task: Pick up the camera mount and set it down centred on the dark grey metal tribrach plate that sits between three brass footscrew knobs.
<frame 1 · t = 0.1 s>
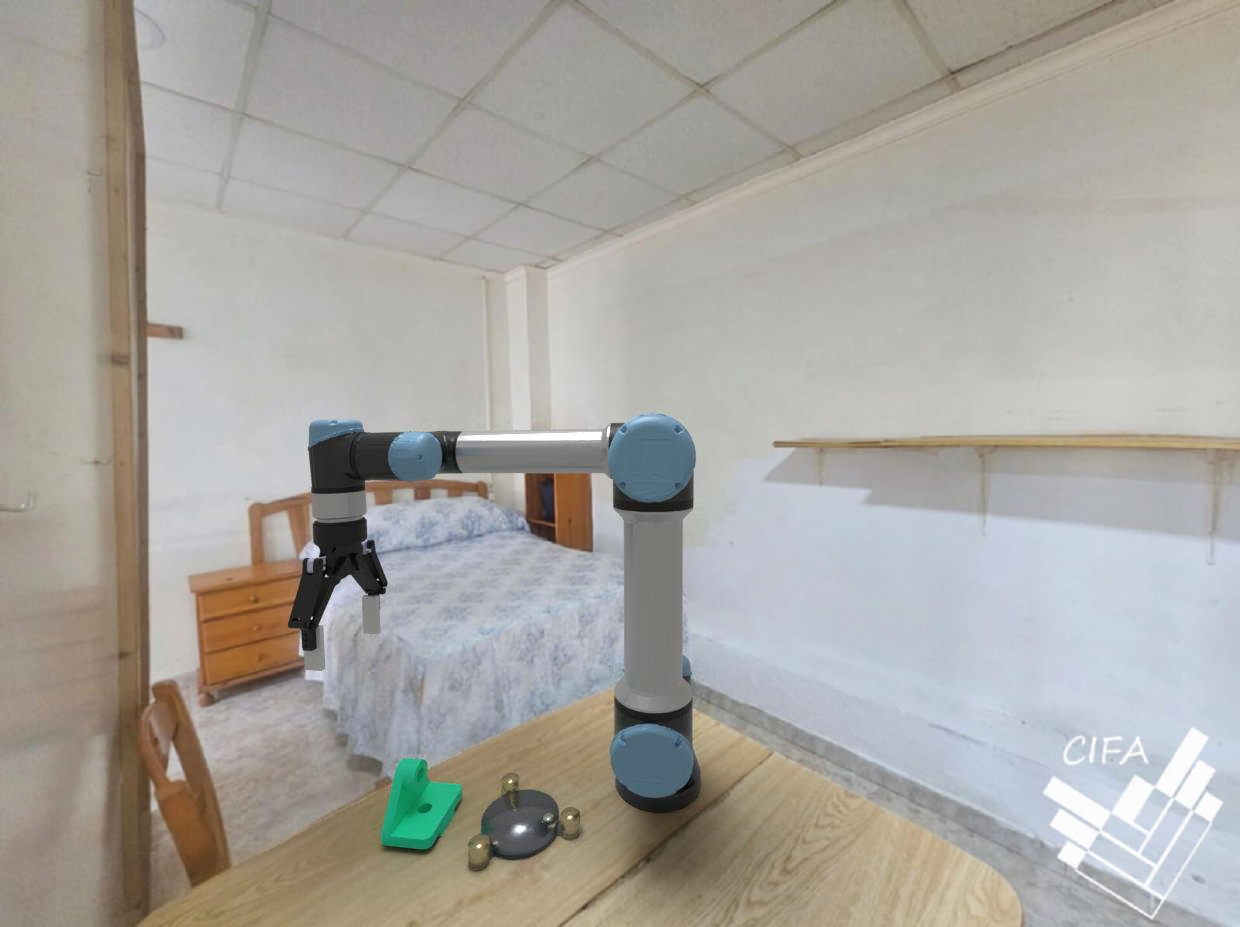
hand: (345, 649, 83), 28 cm above the table, fingers open, 13 cm apart
camera mount: (425, 824, 83), on the table
tribrach plate: (520, 828, 81), on the table
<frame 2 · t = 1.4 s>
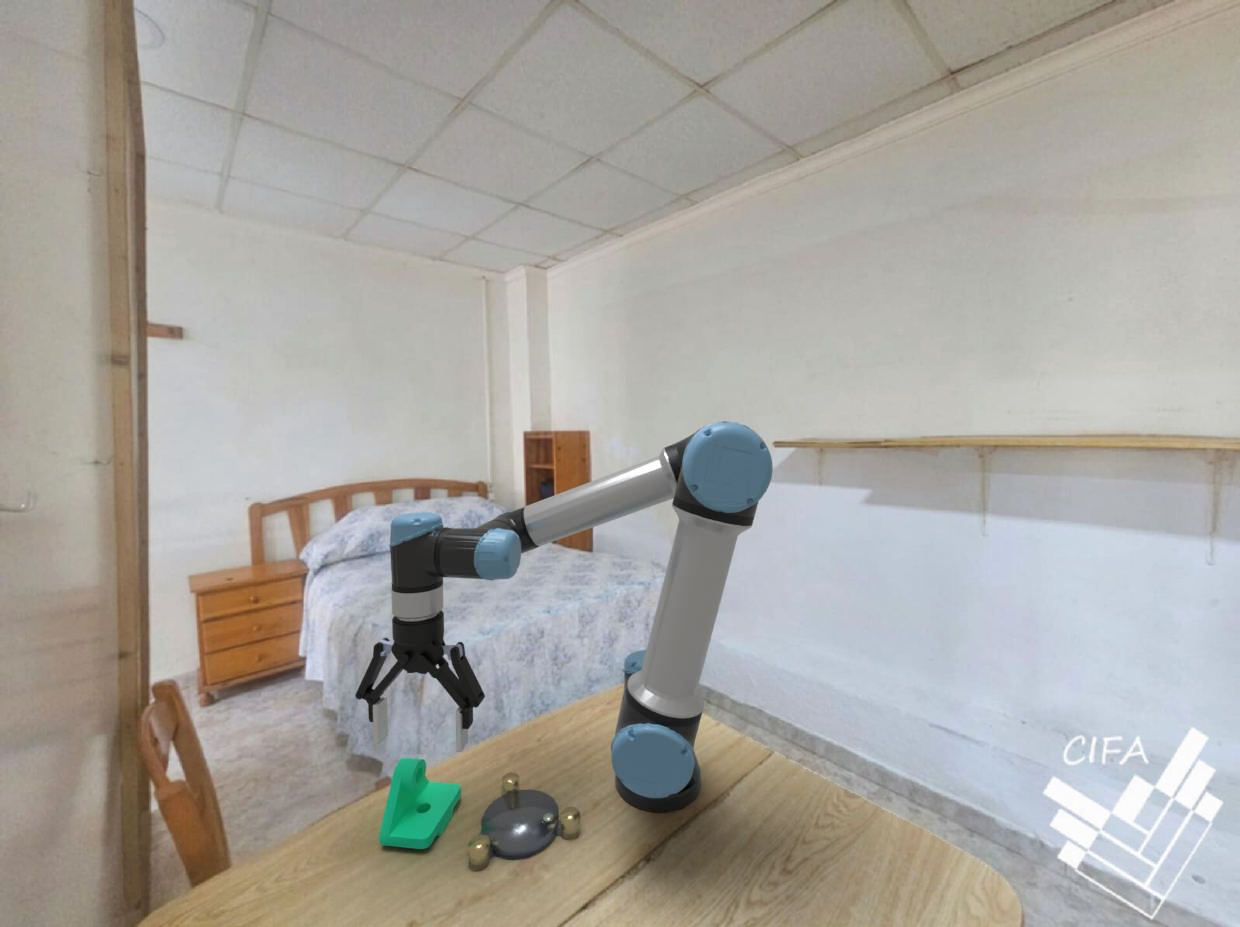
hand: (421, 743, 82), 13 cm above the table, fingers open, 13 cm apart
nothing on the table moved.
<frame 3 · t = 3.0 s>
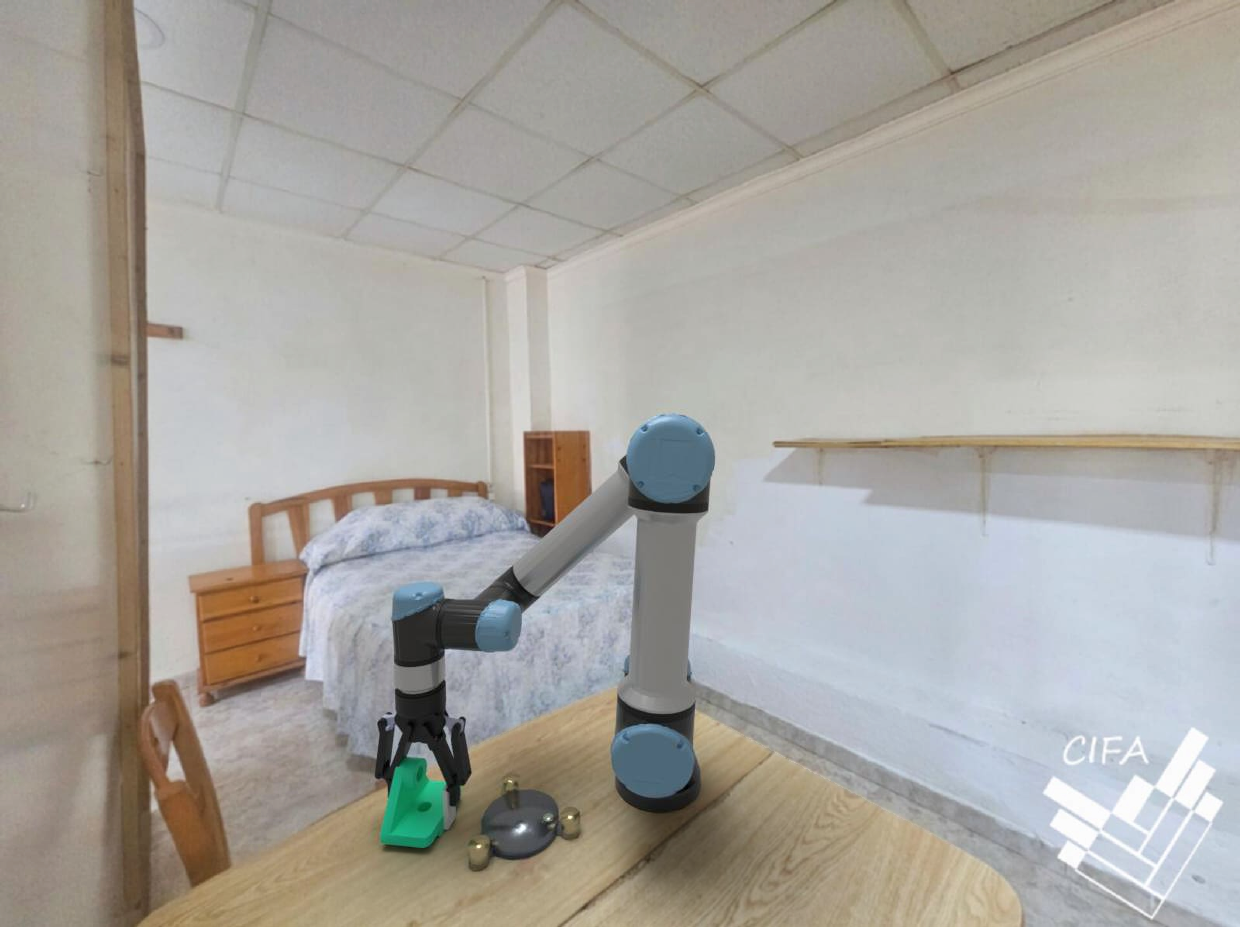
hand: (424, 820, 83), 0 cm above the table, fingers closed on camera mount, 8 cm apart
camera mount: (425, 823, 83), on the table, touching gripper
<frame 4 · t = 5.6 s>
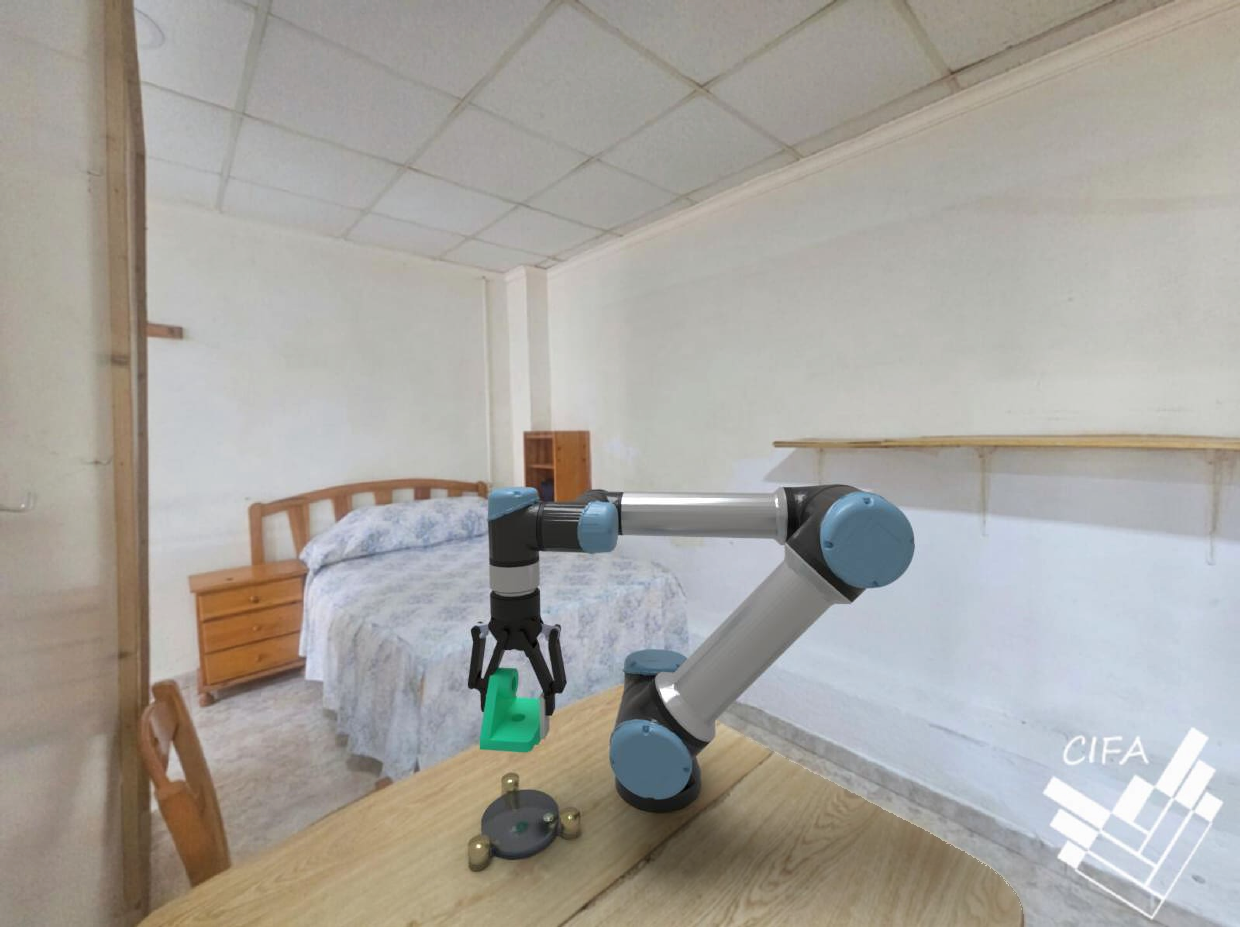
hand: (518, 732, 80), 16 cm above the table, fingers closed on camera mount, 8 cm apart
camera mount: (518, 735, 80), point 15 cm above the table, touching gripper
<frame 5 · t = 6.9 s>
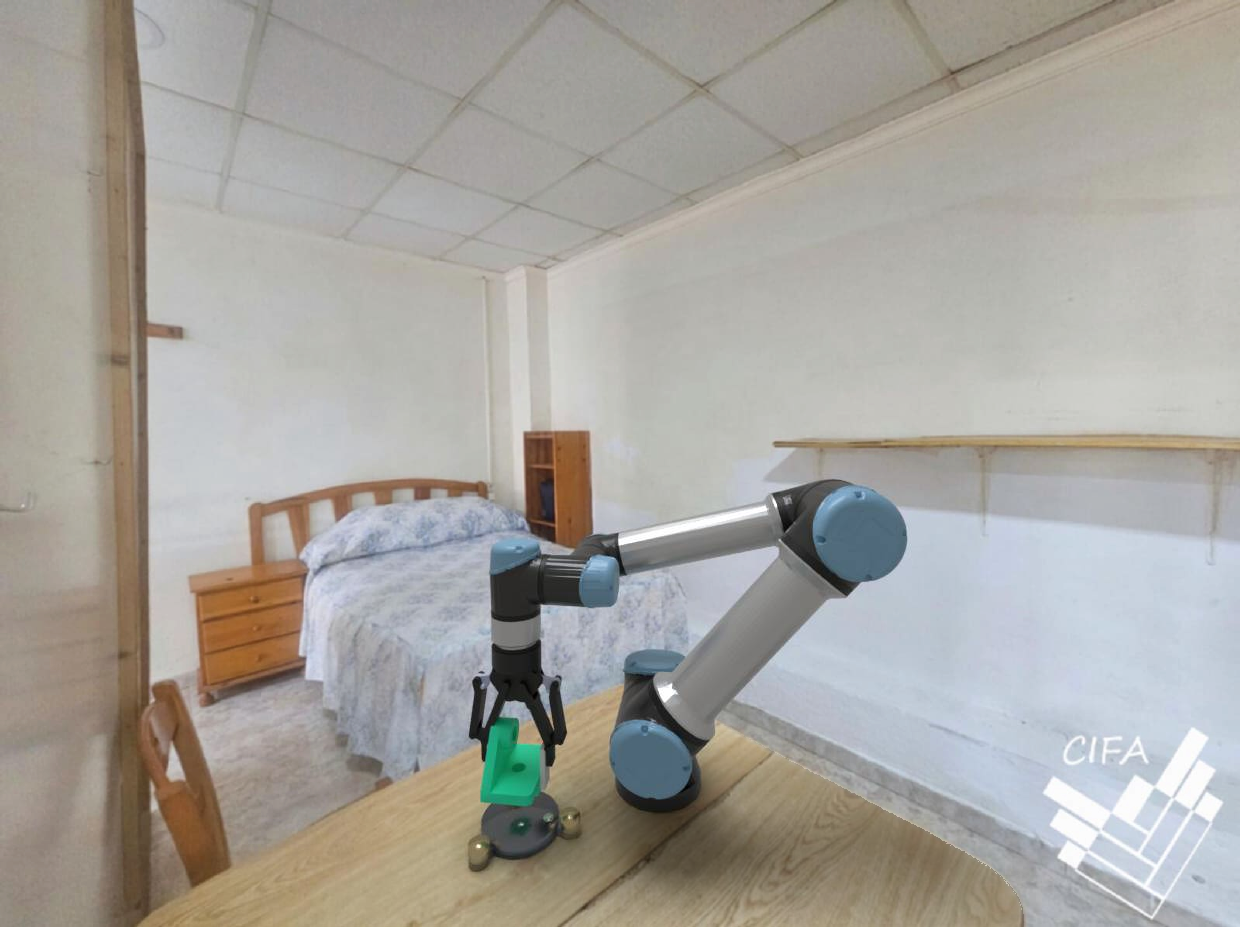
hand: (518, 781, 81), 8 cm above the table, fingers closed on camera mount, 8 cm apart
camera mount: (519, 784, 81), point 7 cm above the table, touching gripper
when the fingers open (4 cm above the table, at t = 8.1 s): camera mount stays where it is, resting on tribrach plate.
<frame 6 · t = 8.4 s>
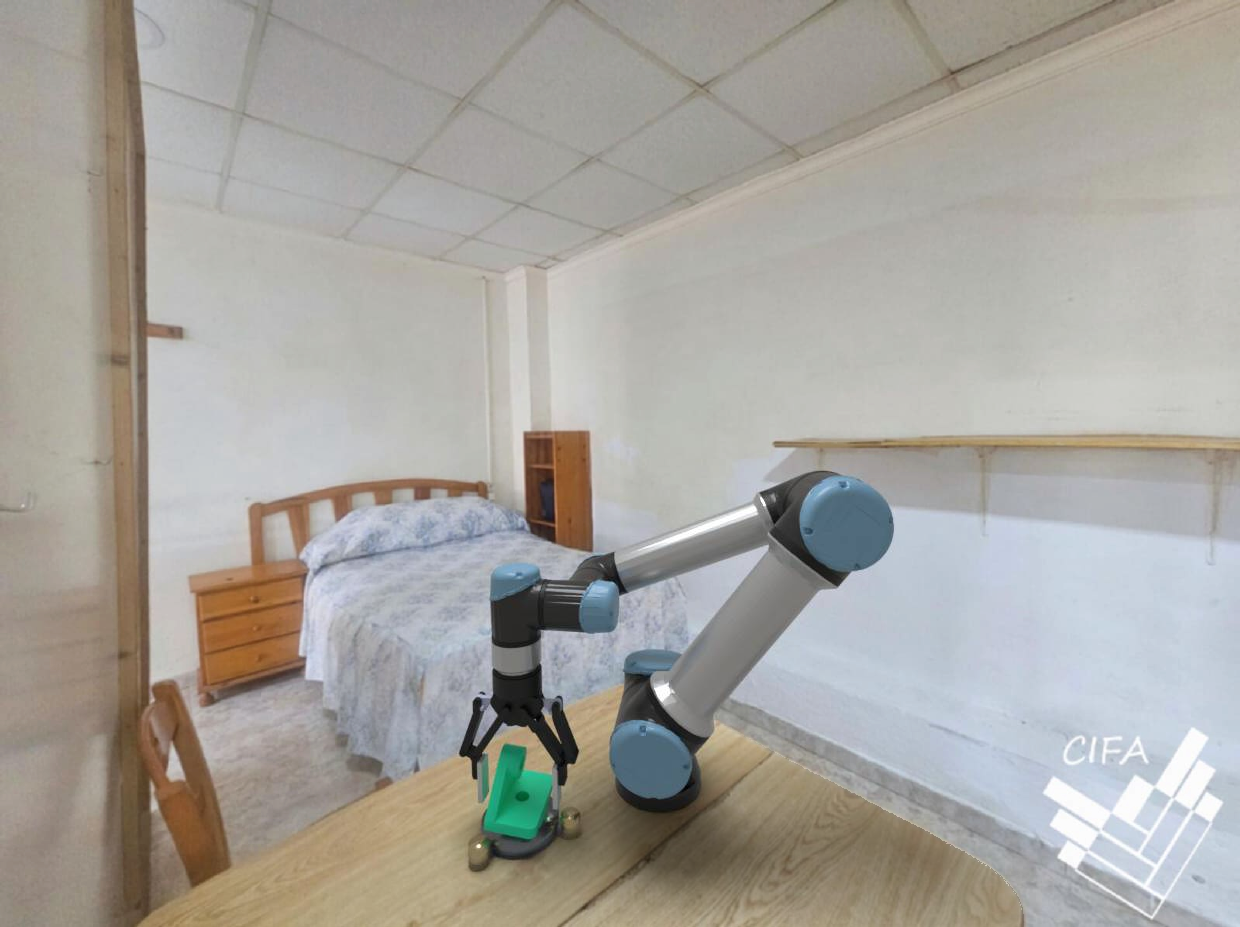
hand: (520, 800, 81), 5 cm above the table, fingers open, 11 cm apart
camera mount: (520, 813, 81), point 2 cm above the table, touching tribrach plate
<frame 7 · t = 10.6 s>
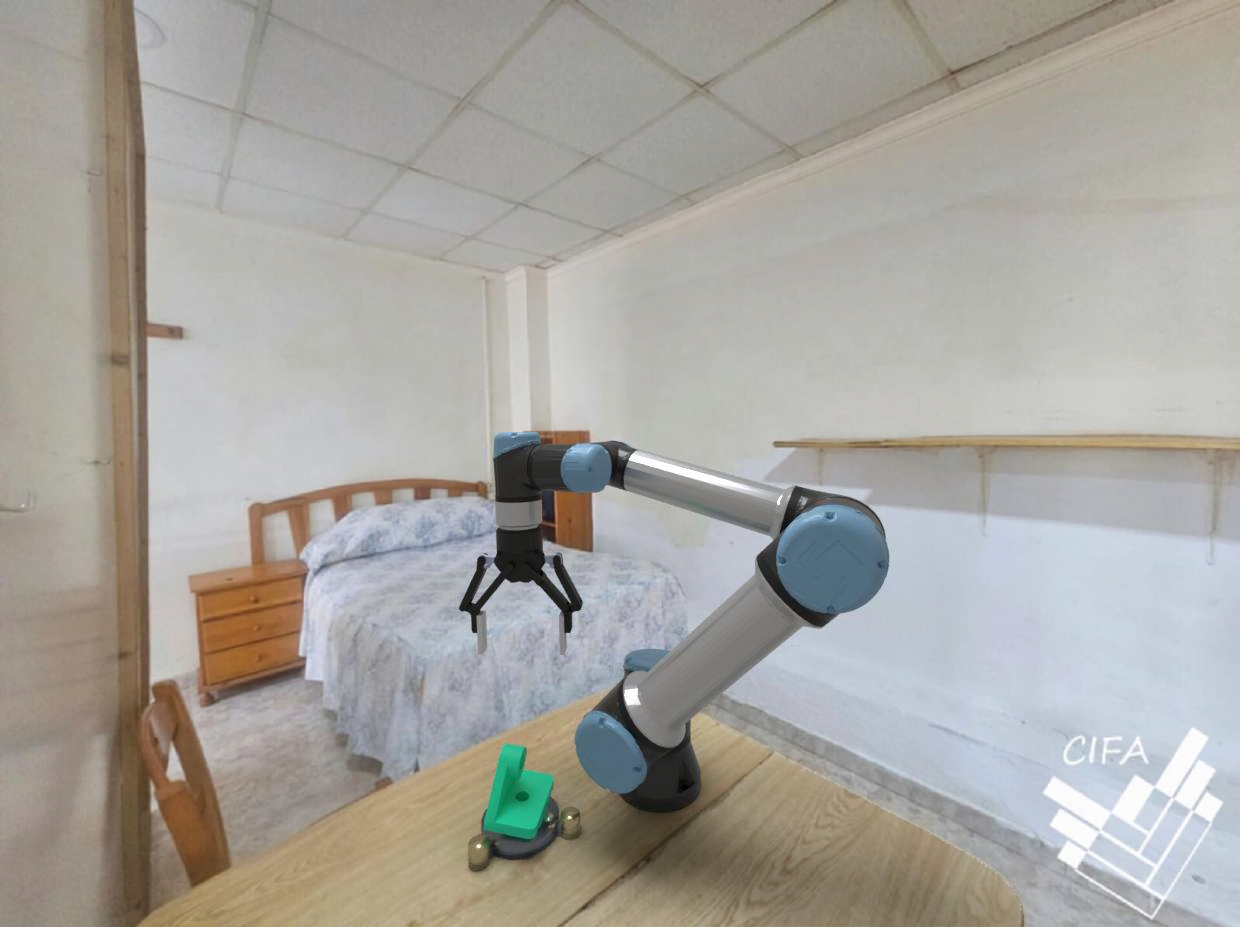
hand: (522, 651, 86), 26 cm above the table, fingers open, 13 cm apart
nothing on the table moved.
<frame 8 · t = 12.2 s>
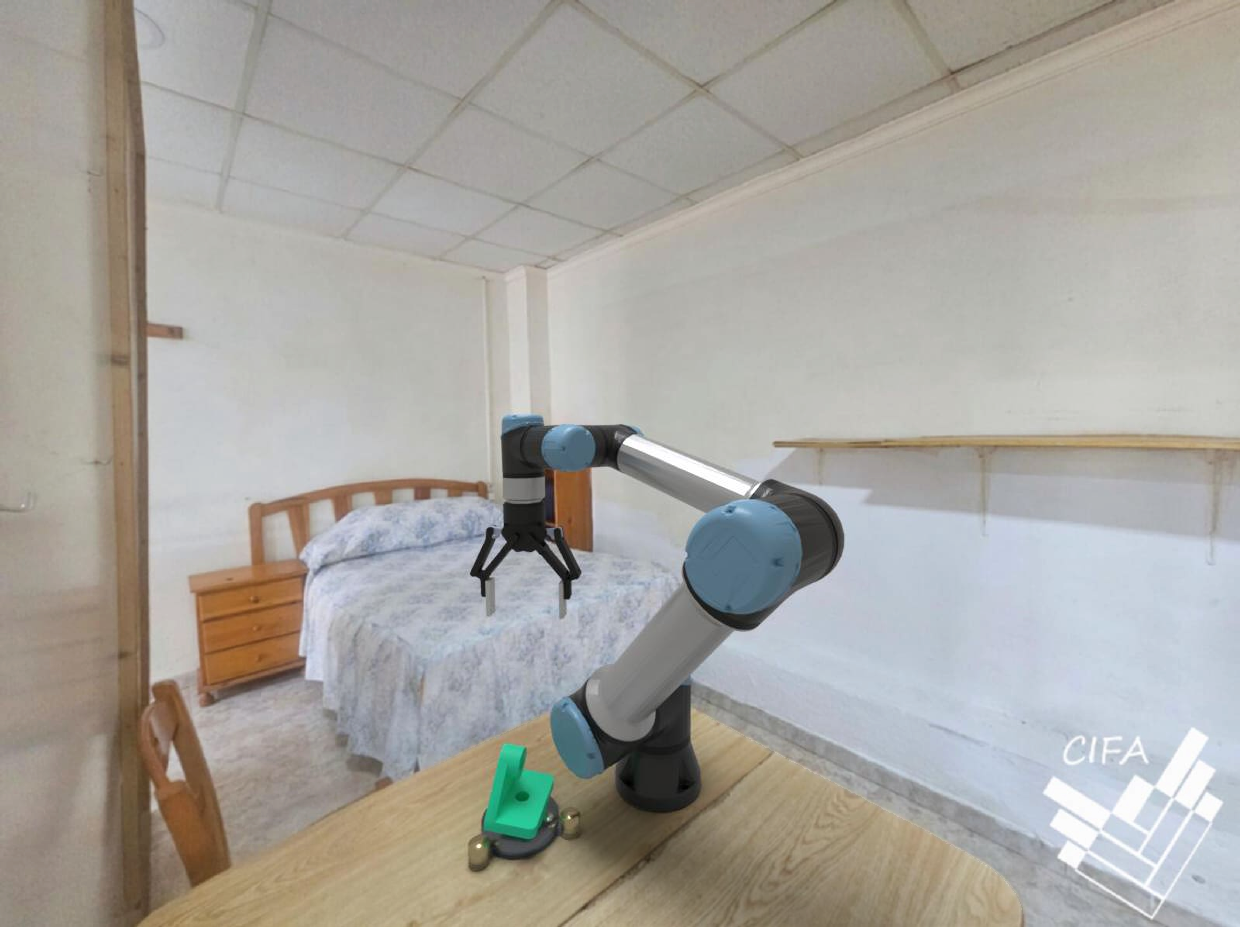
hand: (526, 615, 95), 29 cm above the table, fingers open, 13 cm apart
nothing on the table moved.
at the end: camera mount inside the target area on the tribrach plate (0.0 cm from its centre), point 2.5 cm above the tribrach plate's base; camera mount tilted 7°; the gripper is holding nothing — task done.
